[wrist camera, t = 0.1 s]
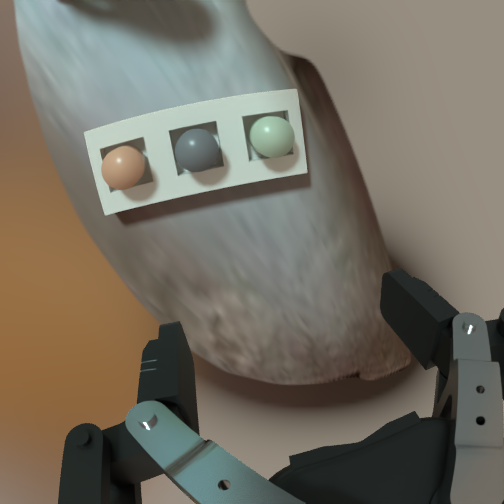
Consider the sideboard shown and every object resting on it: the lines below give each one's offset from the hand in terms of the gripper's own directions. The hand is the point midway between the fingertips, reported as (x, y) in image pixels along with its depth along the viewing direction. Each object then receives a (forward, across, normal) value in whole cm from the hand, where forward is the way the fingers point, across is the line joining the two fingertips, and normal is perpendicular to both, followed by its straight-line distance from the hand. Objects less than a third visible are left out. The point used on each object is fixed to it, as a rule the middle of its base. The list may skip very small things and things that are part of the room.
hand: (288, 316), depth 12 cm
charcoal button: (+27, +2, -4) cm, 27 cm away
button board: (+29, +2, -4) cm, 29 cm away
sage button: (+27, -6, -4) cm, 27 cm away
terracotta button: (+27, +10, -4) cm, 29 cm away
